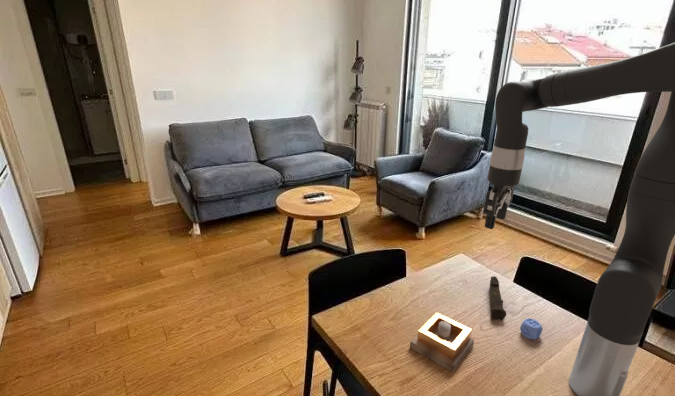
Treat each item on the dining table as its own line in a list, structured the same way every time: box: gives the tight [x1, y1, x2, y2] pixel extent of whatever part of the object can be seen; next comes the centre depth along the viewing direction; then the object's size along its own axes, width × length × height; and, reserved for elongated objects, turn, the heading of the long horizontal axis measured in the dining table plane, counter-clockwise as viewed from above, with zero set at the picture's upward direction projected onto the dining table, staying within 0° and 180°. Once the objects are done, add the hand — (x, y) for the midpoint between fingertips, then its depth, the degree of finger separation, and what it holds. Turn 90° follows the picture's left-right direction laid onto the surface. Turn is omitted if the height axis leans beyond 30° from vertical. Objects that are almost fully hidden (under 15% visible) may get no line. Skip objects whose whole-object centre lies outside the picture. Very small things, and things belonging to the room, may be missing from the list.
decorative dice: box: [519, 318, 543, 340], centre depth 101 cm, size 4×4×4 cm
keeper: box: [409, 321, 475, 373], centre depth 96 cm, size 12×12×7 cm
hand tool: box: [488, 276, 507, 321], centre depth 115 cm, size 19×4×5 cm, turn 161°
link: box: [417, 312, 472, 360], centre depth 96 cm, size 10×10×3 cm
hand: (495, 223), depth 98 cm, fingers open, 8 cm apart
